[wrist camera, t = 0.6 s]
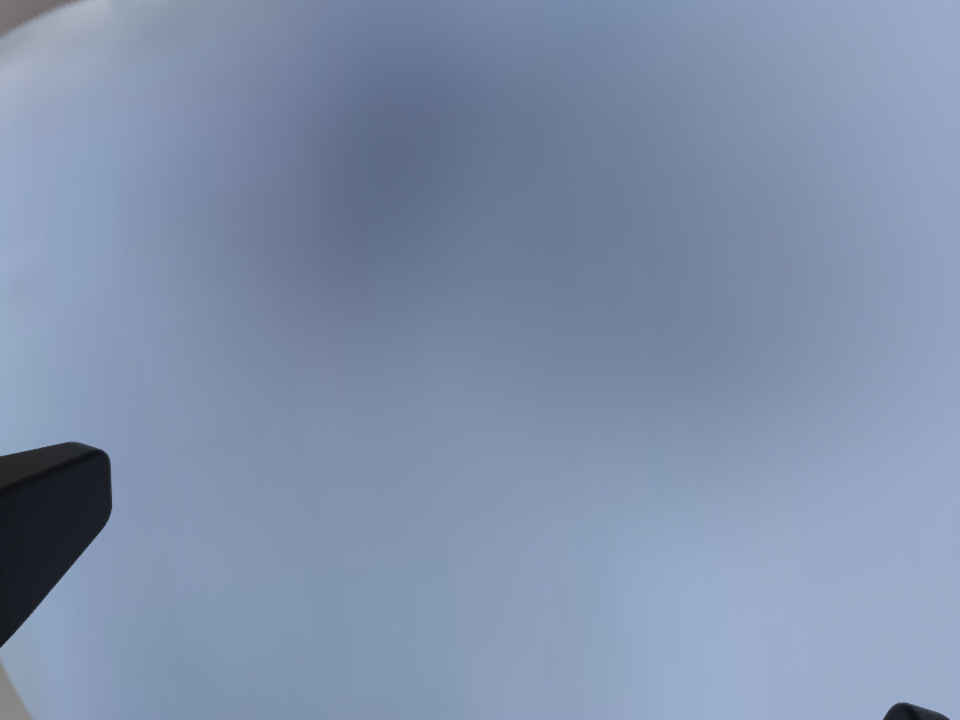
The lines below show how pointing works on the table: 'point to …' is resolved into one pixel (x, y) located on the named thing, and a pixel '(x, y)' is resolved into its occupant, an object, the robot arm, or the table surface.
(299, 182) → the table surface
